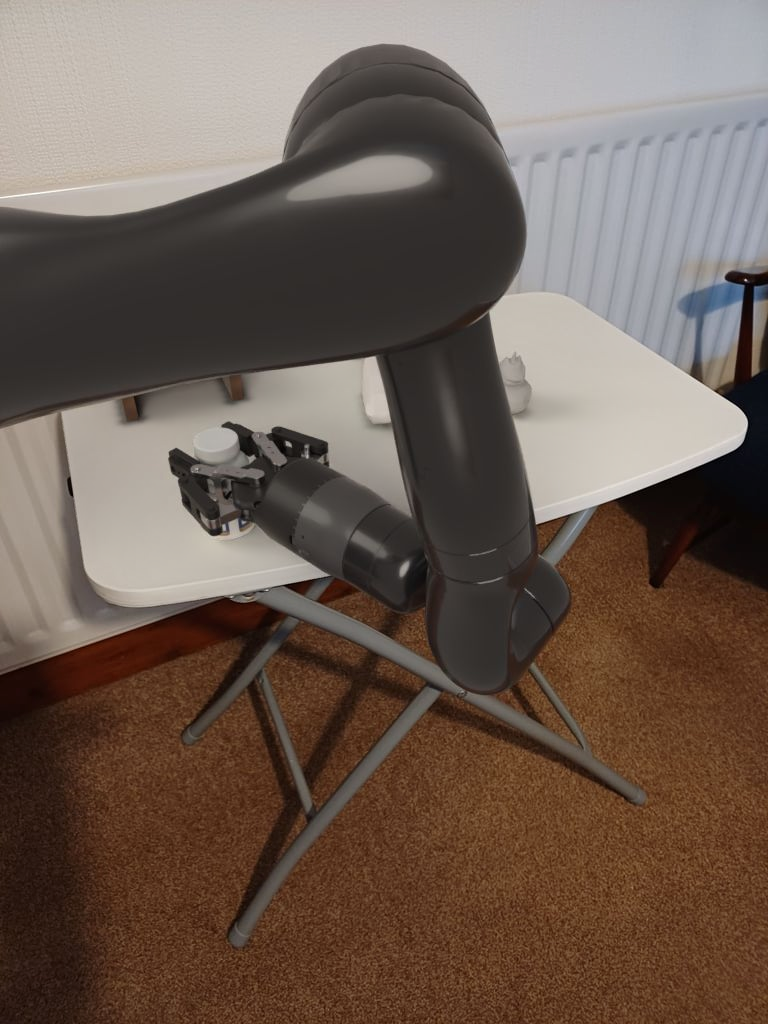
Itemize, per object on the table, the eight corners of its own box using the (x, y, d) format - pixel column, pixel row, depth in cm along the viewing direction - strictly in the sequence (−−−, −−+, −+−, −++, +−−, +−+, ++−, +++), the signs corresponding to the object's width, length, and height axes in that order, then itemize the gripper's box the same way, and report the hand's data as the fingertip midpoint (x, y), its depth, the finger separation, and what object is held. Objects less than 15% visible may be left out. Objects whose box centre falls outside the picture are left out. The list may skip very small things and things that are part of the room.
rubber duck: (494, 425, 91) (500, 363, 86) (475, 397, 96) (479, 336, 91) (537, 418, 92) (546, 357, 87) (516, 391, 97) (523, 331, 92)
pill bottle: (246, 501, 78) (235, 417, 72) (264, 532, 75) (254, 446, 68) (193, 516, 76) (177, 431, 70) (209, 548, 73) (193, 461, 67)
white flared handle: (358, 442, 88) (357, 412, 86) (351, 365, 102) (350, 337, 100) (407, 440, 88) (407, 410, 86) (393, 364, 102) (393, 336, 100)
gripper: (390, 445, 65) (254, 379, 74) (259, 527, 57) (123, 442, 65) (389, 515, 70) (262, 445, 78) (268, 602, 61) (141, 512, 70)
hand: (199, 444), depth 72 cm, fingers closed on pill bottle, 5 cm apart
